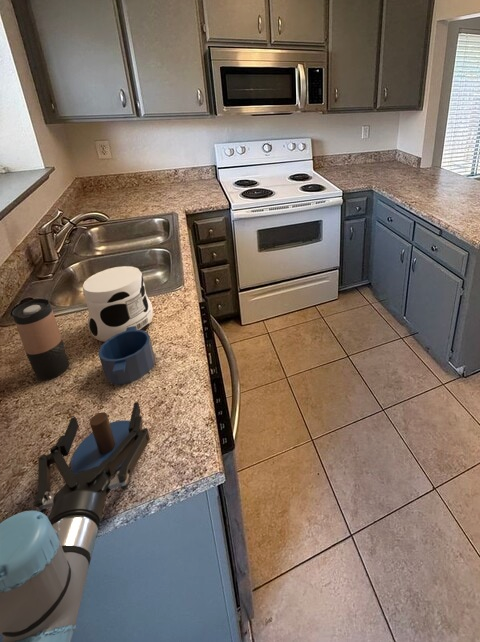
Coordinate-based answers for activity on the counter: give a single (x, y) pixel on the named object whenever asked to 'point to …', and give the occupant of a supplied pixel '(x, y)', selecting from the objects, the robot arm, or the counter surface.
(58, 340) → the travel mug
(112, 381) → the pot
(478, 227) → the counter surface
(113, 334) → the milk container
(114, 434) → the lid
